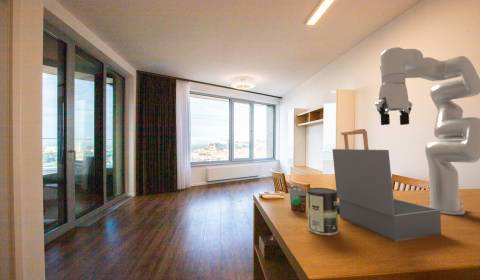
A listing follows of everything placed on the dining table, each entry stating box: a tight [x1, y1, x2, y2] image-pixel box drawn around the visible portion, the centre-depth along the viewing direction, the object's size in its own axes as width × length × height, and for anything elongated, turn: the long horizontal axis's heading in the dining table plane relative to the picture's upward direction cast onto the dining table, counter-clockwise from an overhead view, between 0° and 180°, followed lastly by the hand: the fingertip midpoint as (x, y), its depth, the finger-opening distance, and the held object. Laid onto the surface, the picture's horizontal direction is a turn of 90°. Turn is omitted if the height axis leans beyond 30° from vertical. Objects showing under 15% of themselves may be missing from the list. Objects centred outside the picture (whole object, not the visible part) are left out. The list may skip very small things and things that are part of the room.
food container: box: [288, 185, 307, 213], centre depth 100 cm, size 12×6×10 cm, turn 5°
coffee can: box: [306, 187, 339, 236], centre depth 77 cm, size 10×10×14 cm
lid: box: [331, 128, 395, 216], centre depth 77 cm, size 28×25×2 cm
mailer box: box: [338, 198, 442, 243], centre depth 80 cm, size 20×24×8 cm
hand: (395, 124), depth 83 cm, fingers open, 9 cm apart
